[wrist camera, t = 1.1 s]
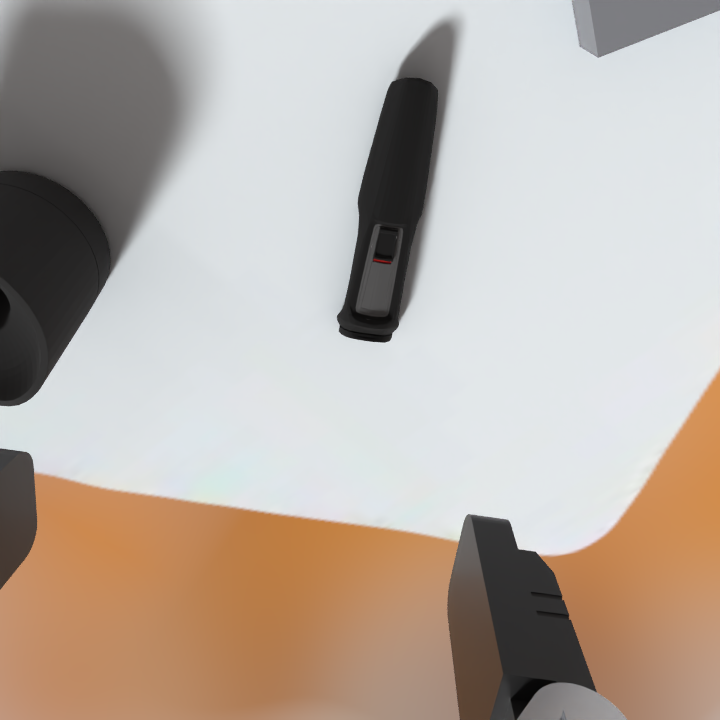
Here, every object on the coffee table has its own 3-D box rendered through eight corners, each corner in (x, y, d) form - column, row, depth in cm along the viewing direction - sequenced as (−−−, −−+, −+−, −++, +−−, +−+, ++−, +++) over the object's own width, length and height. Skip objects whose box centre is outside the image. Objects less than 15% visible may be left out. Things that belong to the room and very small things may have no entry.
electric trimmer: (454, 74, 32) (462, 87, 29) (393, 334, 40) (394, 363, 38) (380, 60, 31) (381, 72, 29) (334, 325, 40) (331, 353, 37)
